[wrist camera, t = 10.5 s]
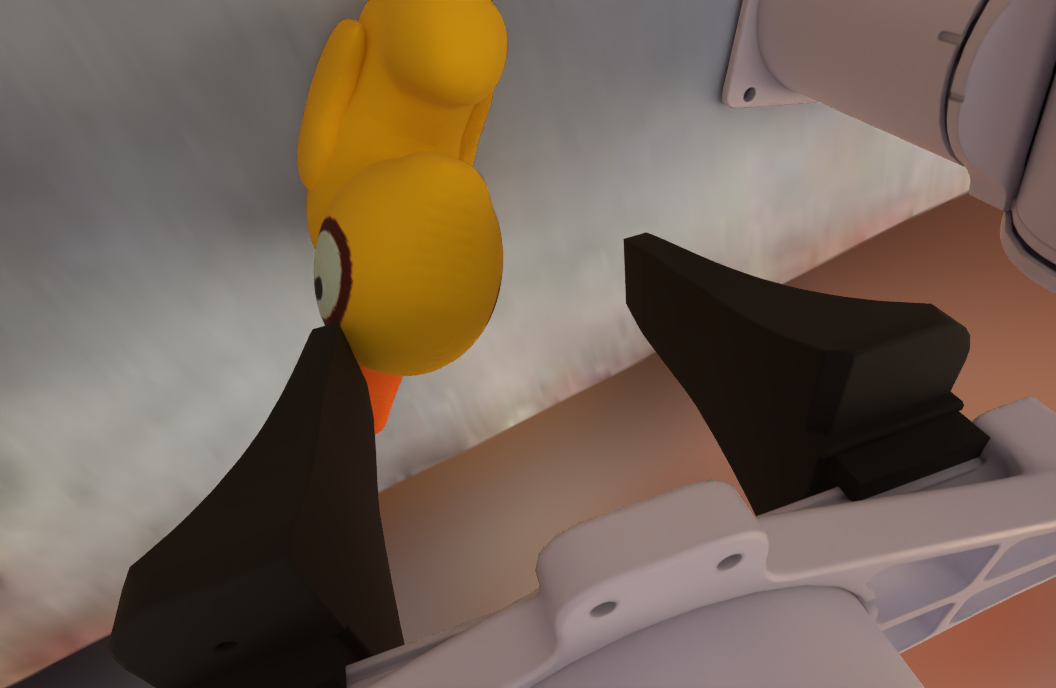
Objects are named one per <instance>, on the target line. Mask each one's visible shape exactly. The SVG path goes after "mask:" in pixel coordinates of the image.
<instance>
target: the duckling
mask: <svg viewBox="0 0 1056 688" xmlns="http://www.w3.org/2000/svg"><path fill="white" fill-rule="evenodd" d="M506 56H507V33H506V28H505V24H504V21H503V19H502V16H501V14H500V12H499V11H498V9H497V8H496V6H495V5H494V3H493V2H492V1H491V0H368V2H367V3H366V5H365V7H364V9H363V11H362V13H361V15H360V17H359V20H358V22H357V21H355V20H352V19H345V20H343V21H341V22H340V23H339V24H338V25H337V26H336V27H335V29H334V30H333V32H332V33H331V35H330V37H329V39H328V41H327V43H326V45H325V47H324V49H323V52H322V54H321V57H320V59H319V62H318V65H317V68H316V71H315V74H314V77H313V80H312V83H311V86H310V89H309V93H308V97H307V101H306V105H305V110H304V115H303V119H302V124H301V129H300V134H299V141H298V169H299V174H300V178H301V181H302V183H303V185H304V186H305V187H306V188H307V204H306V210H307V223H308V229H309V233H310V237H311V240H312V243H313V245H314V247H315V249H316V252H315V260H314V286H315V295H316V300H317V304H318V308H319V311H320V314H321V317H322V319H323V322H324V324H325V326H326V325H330V324H333V323H336V322H339V324H340V326H341V328H342V330H343V333H344V335H345V337H346V339H347V341H348V343H349V345H350V347H351V350H352V352H353V354H354V356H355V358H356V360H357V362H358V364H359V367H360V369H361V371H362V373H363V375H364V377H365V379H366V381H367V385H368V390H369V395H370V400H371V405H372V410H373V416H374V428H375V434H377V433H379V432H380V431H381V430H382V429H383V428H384V426H385V424H386V422H387V418H388V415H389V412H390V409H391V406H392V403H393V400H394V398H395V395H396V392H397V390H398V387H399V385H400V382H401V380H402V377H403V375H404V376H412V375H420V374H425V373H429V372H432V371H435V370H437V369H439V368H441V367H443V366H445V365H447V364H449V363H451V362H453V361H454V360H456V359H457V358H459V357H460V356H461V355H462V354H463V353H465V352H466V351H467V350H468V349H469V348H470V347H471V346H472V345H473V344H474V342H475V341H476V340H477V339H478V338H479V336H480V335H481V333H482V332H483V330H484V329H485V327H486V325H487V324H488V322H489V320H490V318H491V315H492V313H493V311H494V308H495V305H496V302H497V298H498V294H499V290H500V285H501V279H502V270H503V247H502V238H501V232H500V227H499V223H498V220H497V217H496V214H495V211H494V208H493V206H492V202H491V198H490V194H489V191H488V188H487V185H486V183H485V181H484V179H483V178H482V176H481V175H480V174H479V173H478V172H477V171H476V170H475V169H474V168H473V166H474V159H475V154H476V149H477V145H478V141H479V138H480V135H481V132H482V129H483V126H484V124H485V121H486V117H487V115H488V112H489V109H490V105H491V102H492V97H493V90H494V88H495V87H496V85H497V84H498V82H499V79H500V77H501V75H502V72H503V69H504V66H505V62H506Z"/></svg>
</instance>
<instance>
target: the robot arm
mask: <svg viewBox="0 0 1056 688" xmlns="http://www.w3.org/2000/svg"><path fill="white" fill-rule="evenodd" d="M748 88H750V92H749V94H748V95H747V96H746V97H745V98H743V95H744V93H745V91H746V90H747V89H748ZM722 100H723V103H724V104H725V105H727V106H728V107H730V108H746V107H760V106H774V105H788V104H802V103H816V102H820V103H822V104H825V105H827V106H829V107H831V108H834V109H836V110H838V111H840V112H843V113H845V114H847V115H849V116H852V117H854V118H856V119H858V120H861V121H863V122H865V123H867V124H870V125H872V126H874V127H876V128H879V129H881V130H883V131H885V132H888V133H890V134H892V135H894V136H897V137H899V138H901V139H903V140H906V141H908V142H910V143H912V144H915V145H917V146H919V147H921V148H924V149H926V150H928V151H930V152H933V153H935V154H937V155H939V156H942V157H944V158H946V159H948V160H951V161H953V162H955V163H957V164H960V165H962V166H965V167H966V169H967V170H968V172H969V175H970V181H971V182H970V189H969V194H970V195H972V196H974V197H976V198H978V199H980V200H982V201H984V202H987V203H988V204H990V205H993V206H995V207H997V208H999V209H1001V210H1003V211H1005V212H1004V215H1003V218H1002V223H1001V228H1000V236H1001V243H1002V246H1003V249H1004V251H1005V252H1006V255H1007V257H1008V258H1009V259H1010V260H1011V262H1012V263H1013V264H1014V265H1015V266H1016V268H1017V269H1018V270H1020V271H1021V272H1022V273H1023V274H1025V275H1026V276H1027V277H1028V278H1030V279H1031V280H1032V281H1034V282H1036V283H1037V284H1039V285H1040V286H1042V287H1044V288H1046V289H1047V290H1049V291H1050V292H1053V293H1055V294H1056V0H743V3H742V7H741V12H740V16H739V20H738V25H737V29H736V34H735V38H734V43H733V47H732V52H731V56H730V61H729V65H728V70H727V74H726V79H725V83H724V87H723V92H722ZM624 258H625V284H626V304H627V306H628V308H629V310H630V312H631V314H632V315H633V317H634V319H635V321H636V323H637V325H638V326H639V328H640V330H641V332H642V333H643V335H644V336H645V338H646V339H647V340H648V342H649V343H650V344H651V346H652V347H653V348H654V350H655V351H656V352H657V354H658V355H659V356H660V358H661V359H662V360H663V362H664V363H665V364H666V365H667V367H668V368H669V370H670V371H671V372H672V373H673V375H674V376H675V377H676V379H677V380H678V381H679V383H680V384H681V385H682V387H683V388H684V389H685V390H686V392H687V393H688V395H689V396H690V398H691V399H692V401H693V402H694V403H695V405H696V406H697V408H698V410H699V411H700V413H701V415H702V417H703V418H704V420H705V422H706V423H707V425H708V427H709V428H710V430H711V432H712V433H713V435H714V437H715V439H716V440H717V442H718V444H719V446H720V448H721V450H722V451H723V453H724V455H725V457H726V459H727V460H728V462H729V464H730V466H731V468H732V470H733V472H734V473H735V475H736V477H737V479H738V481H739V483H740V485H741V487H742V489H743V491H744V493H745V495H746V497H747V499H748V501H749V503H750V505H751V507H752V509H753V511H754V513H755V515H756V516H755V517H754V516H753V514H752V513H751V511H750V510H749V508H748V507H747V505H746V504H745V503H744V501H743V500H742V498H741V497H740V496H739V494H738V492H737V491H736V490H735V488H734V487H733V485H729V484H726V483H723V482H720V481H717V480H708V481H703V482H697V483H692V484H688V485H685V486H682V487H679V488H676V489H674V490H671V491H668V492H665V493H662V494H659V495H657V496H654V497H651V498H648V499H645V500H642V501H639V502H637V503H634V504H631V505H628V506H625V507H622V508H620V509H617V510H614V511H611V512H608V513H605V514H603V515H600V516H597V517H594V518H591V519H588V520H586V521H583V522H580V523H578V524H576V525H574V526H572V527H570V528H568V529H566V530H564V531H562V532H560V533H558V534H557V535H556V536H555V537H554V538H553V539H552V540H551V541H550V542H549V543H548V544H547V545H546V546H545V547H544V548H543V549H542V550H541V552H540V553H539V555H538V560H537V565H536V574H537V578H538V581H539V588H538V589H536V590H534V591H533V592H531V593H529V594H528V595H526V596H524V597H522V598H520V599H519V600H517V601H515V602H513V603H512V604H510V605H508V606H506V607H505V608H503V609H501V610H498V611H496V612H493V613H490V614H487V615H485V616H482V617H479V618H476V619H474V620H471V621H468V622H466V623H462V624H460V625H457V626H454V627H452V628H449V629H446V630H443V631H441V632H438V633H435V634H432V635H430V636H427V637H424V638H421V639H419V640H416V641H413V642H410V643H408V644H404V639H403V635H402V630H401V626H400V621H399V616H398V610H397V605H396V600H395V596H394V590H393V586H392V580H391V574H390V569H389V564H388V558H387V553H386V547H385V541H384V535H383V529H382V523H381V517H380V511H379V500H378V486H377V466H376V445H375V428H374V416H373V410H372V405H371V400H370V395H369V390H368V385H367V381H366V379H365V377H364V375H363V373H362V371H361V369H360V367H359V364H358V362H357V360H356V358H355V356H354V354H353V352H352V350H351V347H350V345H349V343H348V341H347V339H346V337H345V335H344V333H343V330H342V328H341V326H340V324H339V322H336V323H333V324H330V325H326V326H323V327H319V328H316V329H313V330H312V332H311V334H310V335H309V338H308V340H307V342H306V344H305V347H304V349H303V351H302V353H301V355H300V358H299V360H298V362H297V364H296V366H295V368H294V371H293V373H292V375H291V377H290V379H289V381H288V383H287V385H286V387H285V389H284V391H283V392H282V394H281V396H280V398H279V400H278V402H277V403H276V405H275V407H274V408H273V410H272V412H271V414H270V415H269V417H268V419H267V421H266V422H265V424H264V425H263V427H262V428H261V430H260V432H259V433H258V435H257V436H256V437H255V439H254V440H253V441H252V443H251V444H250V446H249V447H248V448H247V450H246V451H245V452H244V454H243V455H242V456H241V458H240V459H239V460H238V461H237V462H236V464H235V465H234V466H233V467H232V468H231V470H230V471H229V472H228V473H227V474H226V475H225V477H224V478H223V479H222V480H221V481H220V483H219V484H218V485H217V486H216V487H215V488H214V490H213V491H212V492H211V493H210V494H209V495H208V496H207V497H206V498H205V499H204V500H203V501H202V502H201V503H200V504H199V505H198V506H197V507H196V508H195V509H194V510H193V511H192V512H191V513H190V514H189V515H188V516H187V517H186V518H185V519H184V520H183V521H182V522H181V523H180V524H179V525H178V526H177V527H176V528H175V529H174V530H172V531H171V532H170V533H169V534H168V535H167V536H166V537H164V538H163V539H162V540H161V541H160V542H159V543H158V544H156V545H155V546H154V547H153V548H152V549H151V550H149V551H148V552H147V553H146V554H145V555H144V556H143V557H141V558H140V559H139V560H138V561H137V562H135V563H134V564H133V565H132V566H131V567H130V568H129V571H128V574H127V577H126V580H125V583H124V586H123V589H122V593H121V597H120V601H119V605H118V609H117V613H116V617H115V621H114V625H113V629H112V633H111V637H110V641H109V645H108V648H109V650H110V653H111V656H112V658H113V659H114V660H116V661H117V662H118V663H119V664H120V665H121V666H122V667H123V668H125V669H126V670H128V671H129V672H131V673H133V674H134V675H136V676H137V677H139V678H141V679H142V680H144V681H146V682H147V683H149V684H151V685H152V686H154V687H156V688H924V686H923V685H922V684H921V683H920V681H919V680H918V678H917V677H916V676H915V675H914V673H913V672H912V671H911V669H910V668H909V667H908V665H907V664H906V663H905V661H904V660H903V659H902V657H901V656H900V655H899V654H900V653H902V652H904V651H906V650H908V649H910V648H912V647H914V646H916V645H918V644H920V643H922V642H923V641H926V640H927V639H929V638H931V637H933V636H935V635H937V634H939V633H941V632H943V631H945V630H947V629H949V628H951V627H953V626H955V625H957V624H959V623H961V622H963V621H965V620H967V619H968V618H970V617H972V616H974V615H976V614H978V613H980V612H982V611H984V610H986V609H988V608H990V607H992V606H994V605H996V604H998V603H1000V602H1002V601H1004V600H1007V599H1008V598H1011V597H1013V596H1015V595H1017V594H1019V593H1021V592H1023V591H1025V590H1028V589H1030V588H1032V587H1034V586H1036V585H1038V584H1041V583H1042V582H1045V581H1047V580H1049V579H1052V578H1054V577H1056V413H1055V412H1053V411H1052V410H1051V409H1049V408H1048V407H1046V406H1045V405H1044V404H1042V403H1041V402H1039V401H1038V400H1037V399H1035V398H1034V397H1025V398H1022V399H1019V400H1016V401H1014V402H1011V403H1008V404H1005V405H1002V406H1000V407H997V408H994V409H991V410H989V411H986V412H985V413H983V414H981V415H979V416H978V417H977V418H975V419H974V420H973V421H972V422H971V421H970V420H969V419H968V418H966V417H965V416H964V415H963V414H961V413H960V412H959V411H960V410H962V408H963V406H964V404H963V402H962V401H961V400H960V399H959V398H958V397H957V396H955V395H954V394H953V393H952V392H950V391H951V389H952V387H953V385H954V383H955V381H956V379H957V377H958V375H959V373H960V371H961V369H962V367H963V365H964V363H965V361H966V358H967V355H968V352H969V350H970V334H969V333H968V331H967V329H966V328H965V327H964V326H963V325H961V324H960V323H958V322H957V321H955V320H954V319H953V318H951V317H950V316H948V315H947V314H945V313H944V312H943V311H941V310H940V309H938V308H937V307H935V306H934V305H932V304H925V303H906V302H888V301H875V300H866V299H857V298H848V297H842V296H835V295H829V294H824V293H819V292H814V291H808V290H803V289H799V288H794V287H790V286H785V285H782V284H779V283H775V282H771V281H768V280H764V279H761V278H758V277H754V276H751V275H748V274H746V273H743V272H740V271H737V270H734V269H732V268H729V267H726V266H724V265H721V264H719V263H716V262H714V261H711V260H709V259H706V258H704V257H702V256H699V255H697V254H695V253H693V252H690V251H688V250H686V249H684V248H681V247H679V246H677V245H675V244H673V243H670V242H668V241H666V240H664V239H661V238H659V237H657V236H654V235H652V234H649V233H643V234H640V235H636V236H633V237H629V238H626V239H624Z"/></svg>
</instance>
